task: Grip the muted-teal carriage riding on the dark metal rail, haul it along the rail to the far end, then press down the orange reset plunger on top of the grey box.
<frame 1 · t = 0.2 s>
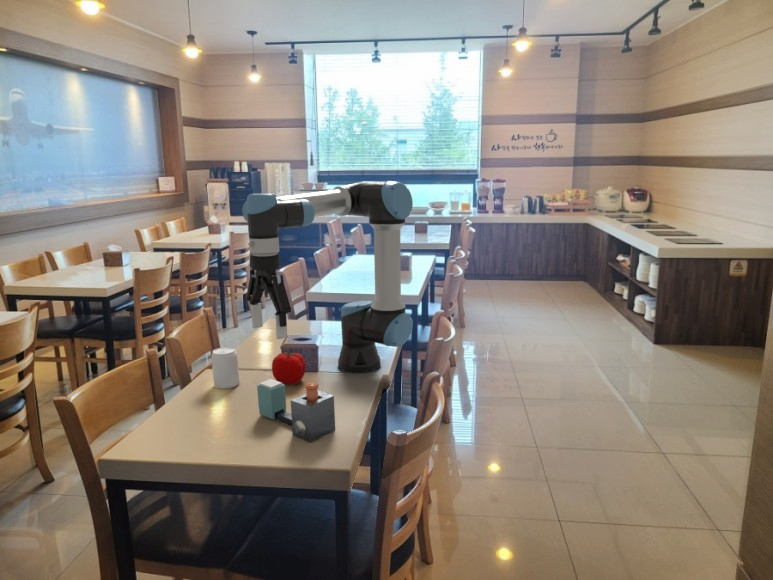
hand: (269, 332, 150), 27 cm above the table, fingers open, 13 cm apart
tomato: (290, 382, 187), on the table
carriage: (271, 398, 160), point 5 cm above the table, slide at 0.0 cm
grey box: (314, 432, 150), on the table
plunger: (312, 395, 148), point 11 cm above the table, slide at 0.0 cm
beverage can: (227, 385, 184), on the table
rail: (284, 420, 158), on the table
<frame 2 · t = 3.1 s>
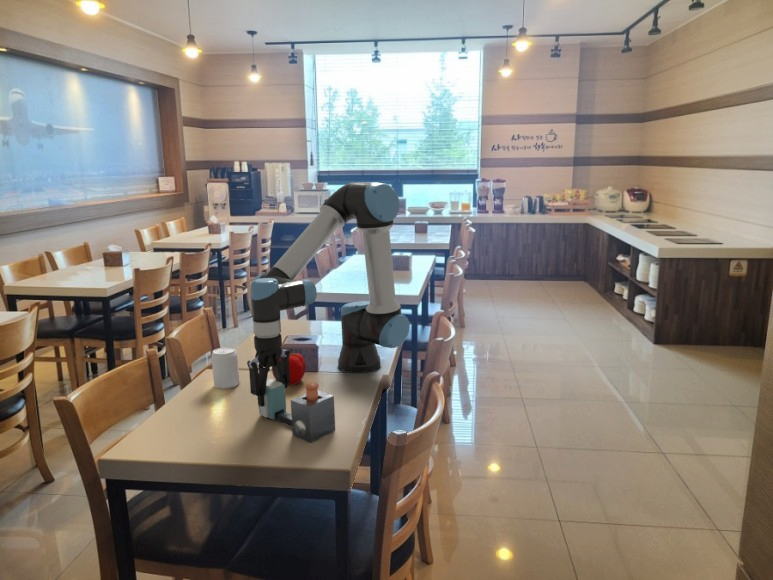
hand: (272, 412, 160), 1 cm above the table, fingers closed on carriage, 5 cm apart
carriage: (271, 398, 160), point 5 cm above the table, slide at 0.0 cm, touching gripper
everything else where it was.
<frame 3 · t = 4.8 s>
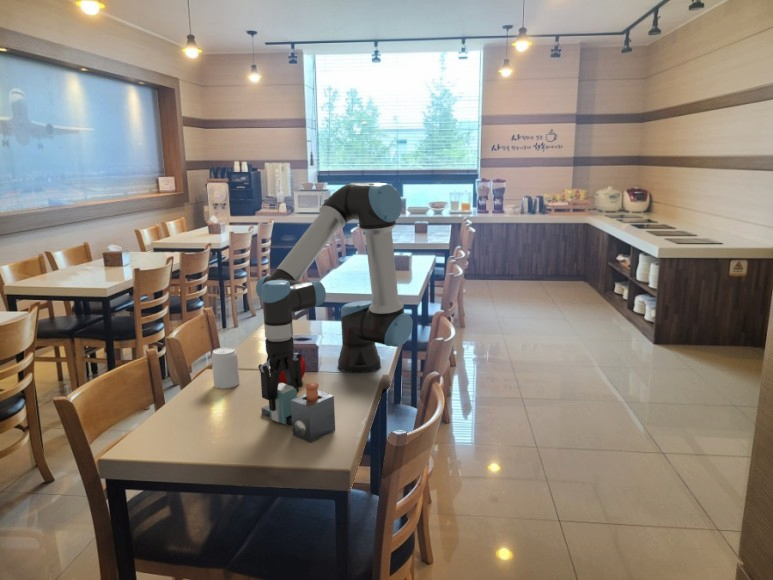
hand: (284, 416, 157), 1 cm above the table, fingers closed on carriage, 5 cm apart
carriage: (283, 402, 157), point 5 cm above the table, slide at 4.9 cm, touching gripper
everything else where it was.
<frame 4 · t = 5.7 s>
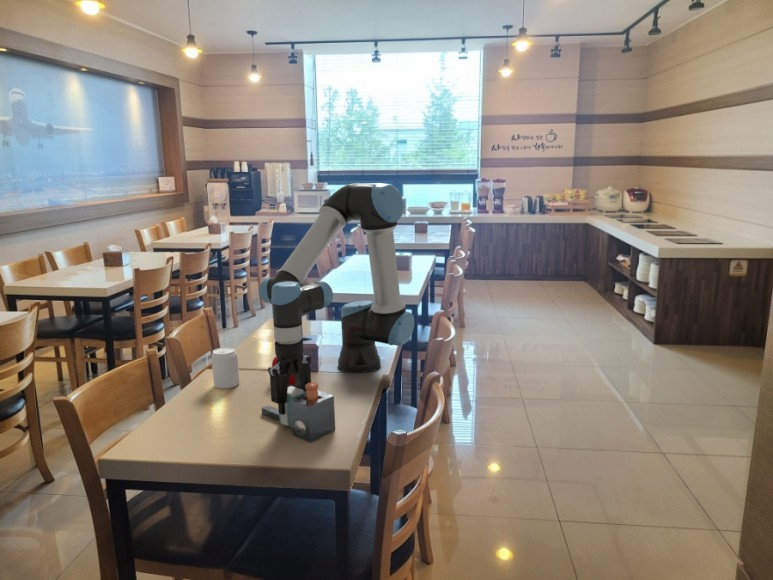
hand: (293, 420, 155), 1 cm above the table, fingers closed on carriage, 5 cm apart
carriage: (292, 406, 154), point 5 cm above the table, slide at 8.8 cm, touching gripper
everything else where it was.
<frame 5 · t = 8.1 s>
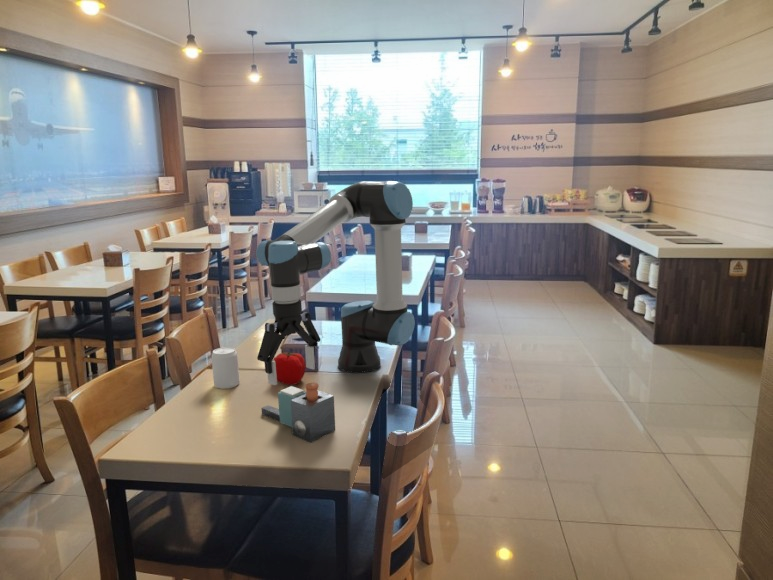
hand: (292, 375, 152), 14 cm above the table, fingers open, 13 cm apart
carriage: (293, 406, 154), point 5 cm above the table, slide at 9.0 cm
everything else where it was.
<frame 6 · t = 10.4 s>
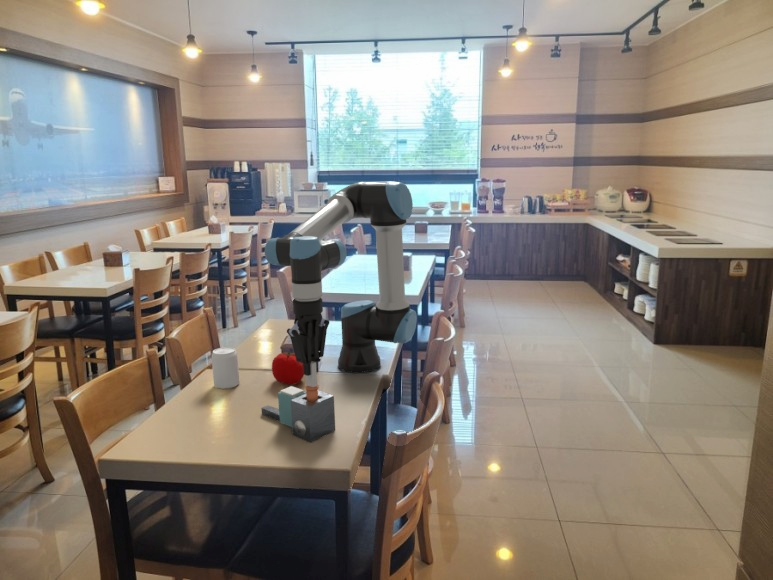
hand: (311, 385, 147), 14 cm above the table, fingers closed
plunger: (312, 396, 148), point 10 cm above the table, slide at 0.3 cm, touching gripper
everything else where it was.
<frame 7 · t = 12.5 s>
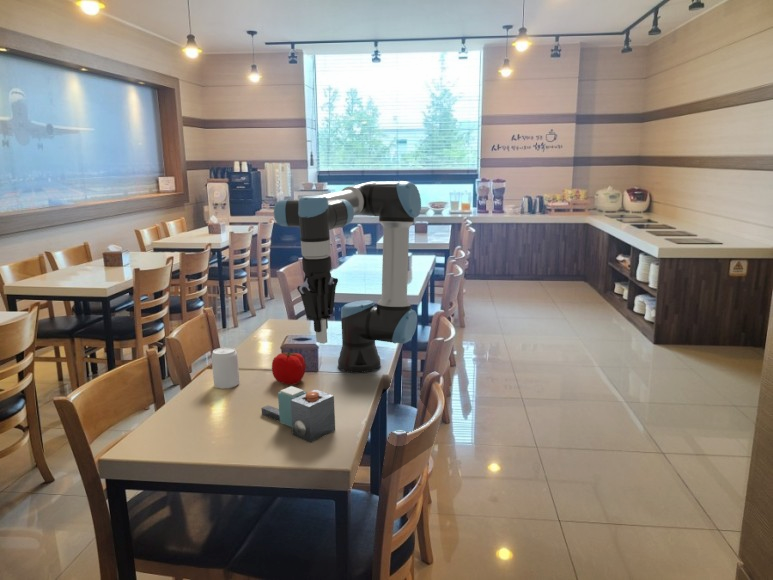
hand: (321, 342, 151), 23 cm above the table, fingers closed
plunger: (312, 404, 148), point 8 cm above the table, slide at 2.6 cm
everything else where it was.
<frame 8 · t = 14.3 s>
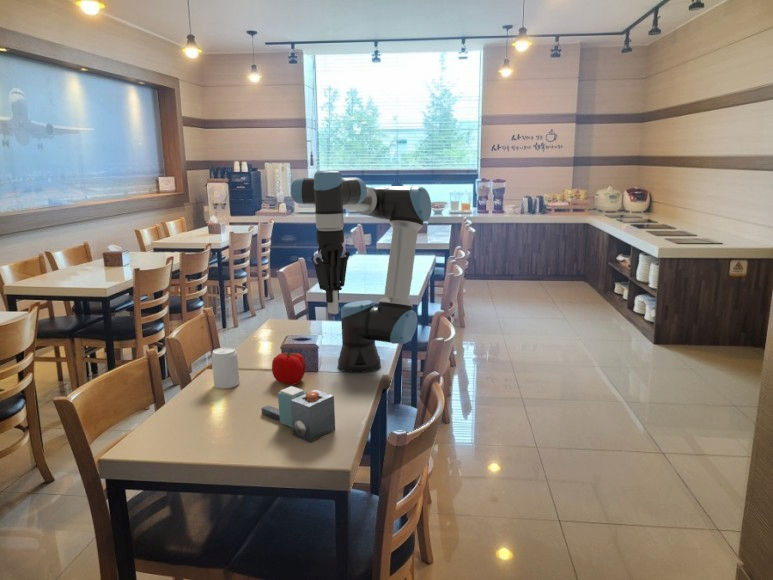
hand: (333, 312, 157), 29 cm above the table, fingers closed
nothing on the table moved.
at the end: carriage slide at 9.0 cm; plunger slide at 2.6 cm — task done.
